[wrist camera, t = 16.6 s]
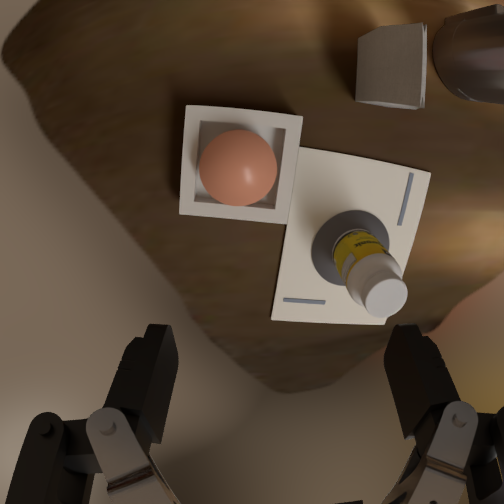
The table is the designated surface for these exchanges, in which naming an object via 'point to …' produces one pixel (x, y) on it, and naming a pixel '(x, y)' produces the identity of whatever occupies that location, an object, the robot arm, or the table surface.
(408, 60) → the white carton
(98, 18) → the table surface
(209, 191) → the button
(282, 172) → the white square tray
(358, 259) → the supplement bottle
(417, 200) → the white flat board
